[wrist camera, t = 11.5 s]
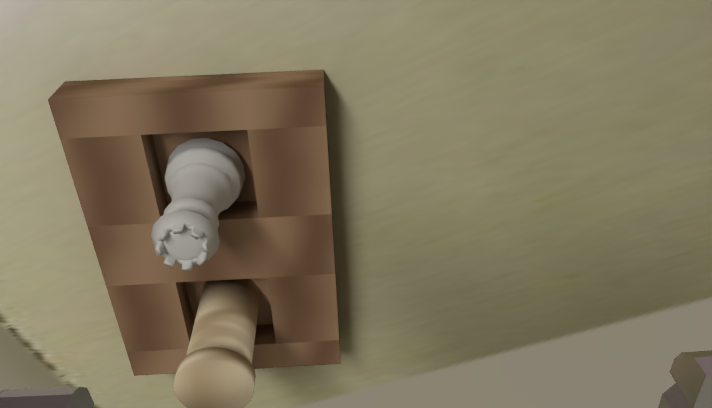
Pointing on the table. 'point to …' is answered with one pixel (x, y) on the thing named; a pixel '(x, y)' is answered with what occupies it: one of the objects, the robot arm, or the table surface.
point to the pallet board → (236, 227)
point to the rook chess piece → (196, 201)
